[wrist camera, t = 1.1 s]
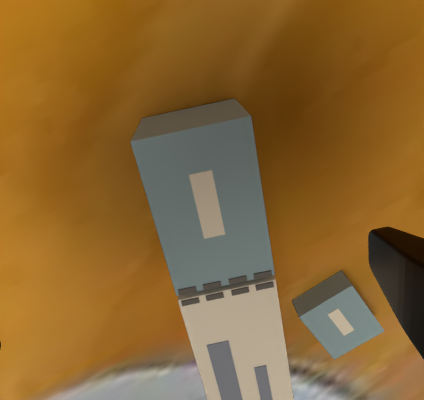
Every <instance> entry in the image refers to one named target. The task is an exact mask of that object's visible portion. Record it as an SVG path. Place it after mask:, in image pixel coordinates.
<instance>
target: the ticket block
mask: <svg viewBox="0 0 424 400" xmlns="http://www.w3.org/2000/svg"><path fill="white" fill-rule="evenodd" d="M178 303H179V306H180V309H181V313H182V316H183V319H184V323H185V326H186V329H187V333H188V336H189V339H190V343H191V346H192V349H193V353H194V356H195V359H196V363H197V366H198V369H199V373H200V376H201V379H202V383H203V386H204V389H205V393H206V396H207V399H208V400H294V399H293V392H292V386H291V379H290V372H289V366H288V359H287V352H286V346H285V339H284V332H283V325H282V319H281V312H280V305H279V299H278V292H277V285H276V279H275V277H274V275H272V276H269V277H264V278H260V279H255V280H254V279H253V280H249V281H246V282H241V283H236V284H231V285H225V286H222V287H217V288H212V289H208V290H201V291H197V292H194V293H189V294H184V295H178Z"/></svg>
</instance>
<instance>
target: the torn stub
mask: <svg viewBox="0 0 424 400" xmlns="http://www.w3.org/2000/svg"><path fill="white" fill-rule="evenodd" d="M292 303H293V305H294V307H295V309H296V312H297V314H298V316H299V318H300V319H301V320H302V322H303V323H304V324H305V325H306V326H307V328H308V329H309V330H310V331H311V332H312V334H313V335H314V336H315V337H316V338H317V340H318V341H319V342H320V343H321V344H322V345H323V347H324V348H325V349H326V350H327V351H328V353H329V354H330V355H331V356H332V357H333V359H336V358H338V357H340V356H342V355H343V354H345V353H347V352H349V351H350V350H352V349H354V348H356V347H357V346H359V345H361V344H363V343H364V342H366V341H368V340H370V339H372V338H373V337H375V336H377V335H379V334H380V333H382V332H384V329H383V328H382V327H381V325H380V324H379V322H378V321H377V320H376V318H375V317H374V315H373V314H372V313H371V311H370V310H369V308H368V307H367V305H366V304H365V303H364V301H363V300H362V298H361V297H360V296H359V294H358V293H357V291H356V290H355V288H354V287H353V286H352V284H351V283H350V281H349V280H348V279H347V277H346V276H345V274H344V273H343V272H342V270H341V271H339V272H338V273H336V274H334V275H333V276H331V277H329V278H328V279H326V280H325V281H323V282H321V283H320V284H318V285H316V286H315V287H313V288H311V289H310V290H308V291H307V292H305V293H303V294H302V295H300V296H298V297H297V298H295V299H293V300H292Z"/></svg>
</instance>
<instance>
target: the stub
mask: <svg viewBox="0 0 424 400" xmlns="http://www.w3.org/2000/svg"><path fill="white" fill-rule="evenodd" d="M130 142H131V146H132V149H133V152H134V156H135V159H136V162H137V166H138V169H139V172H140V176H141V179H142V182H143V186H144V189H145V192H146V196H147V199H148V202H149V206H150V209H151V212H152V216H153V219H154V222H155V226H156V229H157V232H158V236H159V239H160V242H161V246H162V249H163V252H164V256H165V259H166V262H167V266H168V269H169V272H170V276H171V279H172V283H173V286H174V289H175V293H176V296H178V295H184V294H189V293H194V292H197V291H201V290H208V289H212V288H217V287H222V286H225V285H231V284H236V283H241V282H246V281H249V280H253V279H254V280H255V279H260V278H264V277H269V276H272V275H275V272H274V265H273V259H272V252H271V245H270V239H269V232H268V225H267V218H266V212H265V205H264V198H263V192H262V185H261V178H260V172H259V165H258V158H257V152H256V145H255V138H254V132H253V125H252V118H251V115H250V114H249V113H248V112H247V111H246V110H245V109H244V108H243V107H242V106H241V104H240V103H239V102H238V101H237V100H236V99H235V98H234V99H229V100H225V101H220V102H215V103H211V104H206V105H201V106H197V107H192V108H188V109H183V110H178V111H174V112H169V113H164V114H160V115H155V116H150V117H146V118H142V119H141V121H140V123H139V125H138V127H137V129H136V131H135V133H134V135H133V137H132V139H131V141H130Z"/></svg>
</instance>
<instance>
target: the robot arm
mask: <svg viewBox="0 0 424 400" xmlns="http://www.w3.org/2000/svg"><path fill="white" fill-rule="evenodd" d="M368 244H369V264H370V268H371V270H372V272H373V274H374V276H375V278H376V280H377V282H378V283H379V285H380V287H381V289H382V291H383V293H384V295H385V297H386V298H387V300H388V302H389V304H390V306H391V308H392V310H393V312H394V313H395V315H396V317H397V319H398V321H399V323H400V324H401V326H402V328H403V329H404V331H405V333H406V334H407V336H408V337H409V339H410V340H411V342H412V343H413V345H414V346H415V347H416V349H417V350H418V352H419V353H420V355H421V356H422V358H423V359H424V238H421V237H418V236H415V235H412V234H409V233H406V232H403V231H400V230H397V229H394V228H391V227H383V228H378V229H373V230H371V231H370V232H369V236H368ZM0 348H1V343H0Z"/></svg>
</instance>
